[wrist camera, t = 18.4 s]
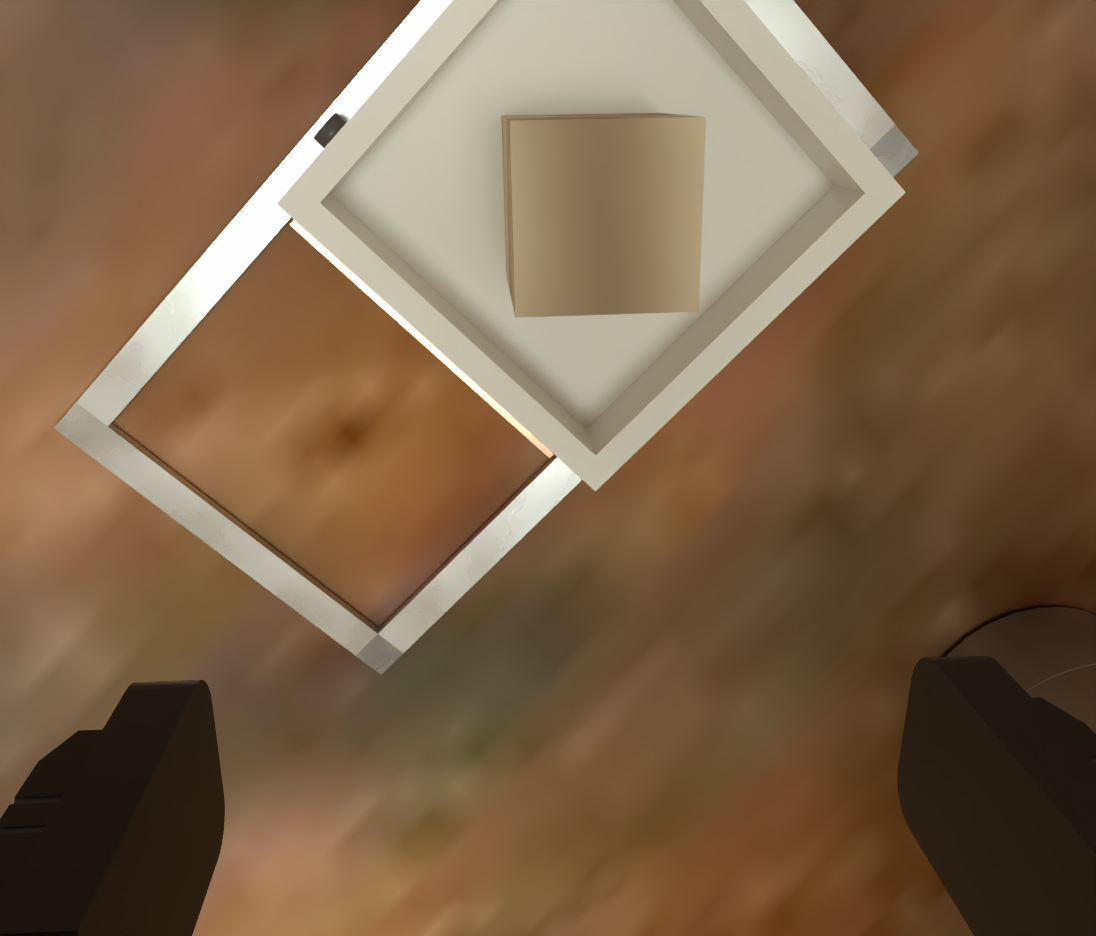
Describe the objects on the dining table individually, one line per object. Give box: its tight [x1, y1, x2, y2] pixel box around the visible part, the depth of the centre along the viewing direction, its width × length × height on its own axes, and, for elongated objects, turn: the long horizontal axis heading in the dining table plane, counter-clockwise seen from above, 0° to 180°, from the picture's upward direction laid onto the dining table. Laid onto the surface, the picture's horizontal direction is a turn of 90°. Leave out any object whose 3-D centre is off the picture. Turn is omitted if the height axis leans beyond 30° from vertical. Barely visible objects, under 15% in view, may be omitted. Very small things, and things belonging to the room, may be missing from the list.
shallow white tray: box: [276, 0, 905, 491], centre depth 28 cm, size 12×13×4 cm
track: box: [54, 0, 918, 675], centre depth 31 cm, size 25×14×1 cm, turn 136°
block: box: [501, 113, 706, 318], centre depth 26 cm, size 4×4×6 cm
